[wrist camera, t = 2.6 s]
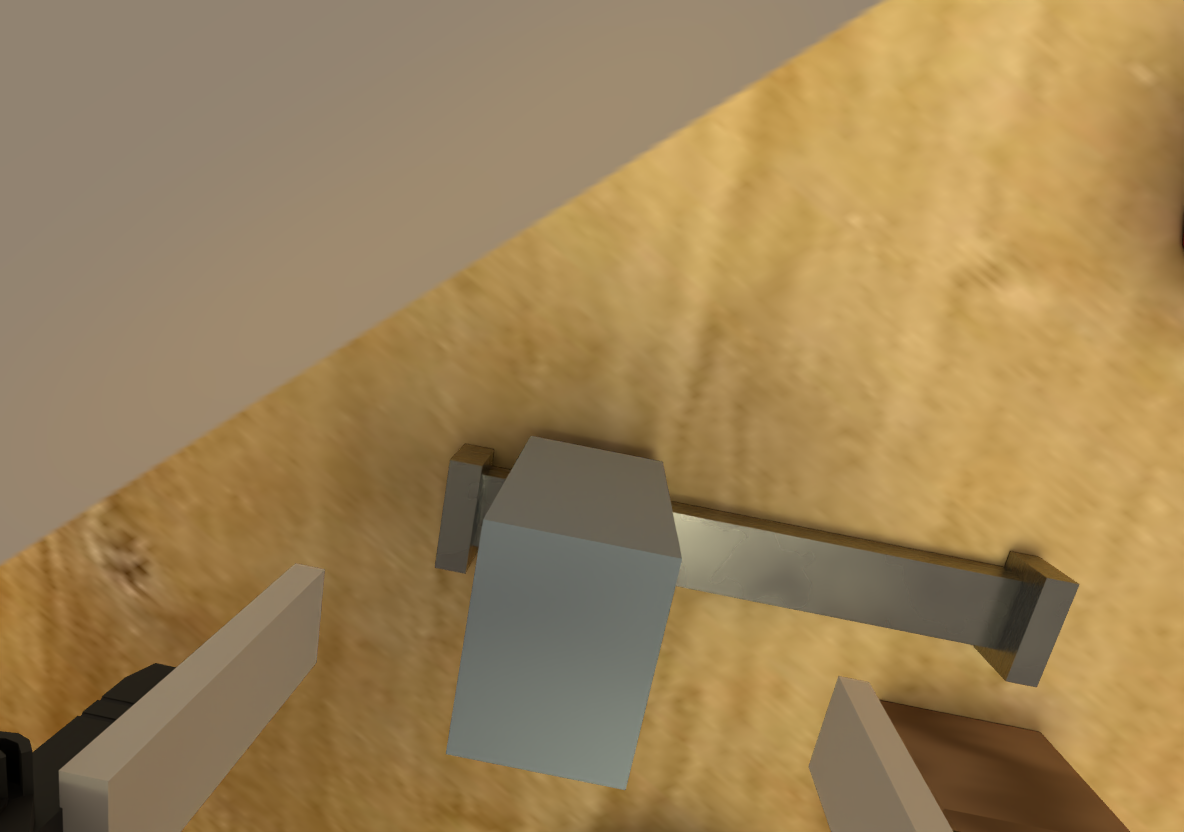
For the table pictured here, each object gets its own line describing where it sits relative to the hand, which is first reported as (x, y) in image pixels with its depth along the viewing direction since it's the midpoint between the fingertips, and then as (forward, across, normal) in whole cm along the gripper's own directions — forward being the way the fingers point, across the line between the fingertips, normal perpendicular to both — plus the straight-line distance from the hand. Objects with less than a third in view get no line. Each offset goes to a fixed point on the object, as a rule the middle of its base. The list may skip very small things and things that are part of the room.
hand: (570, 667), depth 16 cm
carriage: (+10, 0, 0) cm, 10 cm away
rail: (+10, +6, 0) cm, 12 cm away
